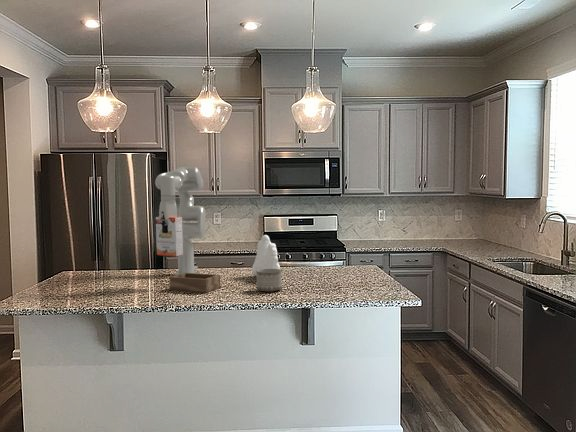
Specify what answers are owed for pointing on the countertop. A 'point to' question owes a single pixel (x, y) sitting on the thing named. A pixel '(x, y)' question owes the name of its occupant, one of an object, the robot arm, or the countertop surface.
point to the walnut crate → (195, 282)
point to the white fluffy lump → (265, 255)
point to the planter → (268, 279)
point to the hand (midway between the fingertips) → (169, 232)
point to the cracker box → (170, 237)
